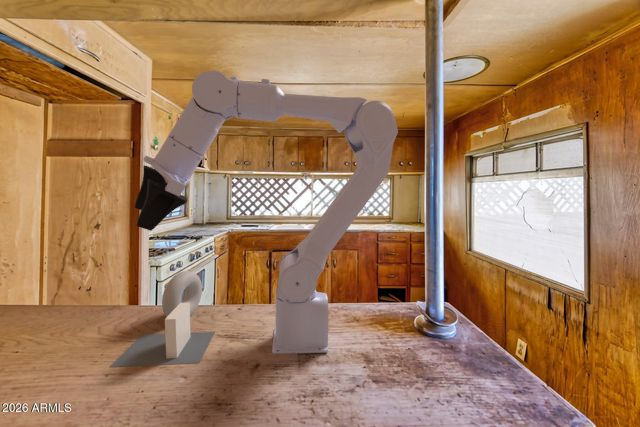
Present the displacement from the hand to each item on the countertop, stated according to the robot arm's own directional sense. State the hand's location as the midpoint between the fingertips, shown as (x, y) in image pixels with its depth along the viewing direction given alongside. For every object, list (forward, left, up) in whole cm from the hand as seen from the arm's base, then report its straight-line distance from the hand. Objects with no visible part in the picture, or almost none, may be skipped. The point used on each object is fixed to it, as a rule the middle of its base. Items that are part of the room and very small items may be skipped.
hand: (142, 218), depth 44 cm
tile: (-5, 0, -22) cm, 23 cm away
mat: (-3, 0, -22) cm, 23 cm away
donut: (-2, -11, -23) cm, 25 cm away
